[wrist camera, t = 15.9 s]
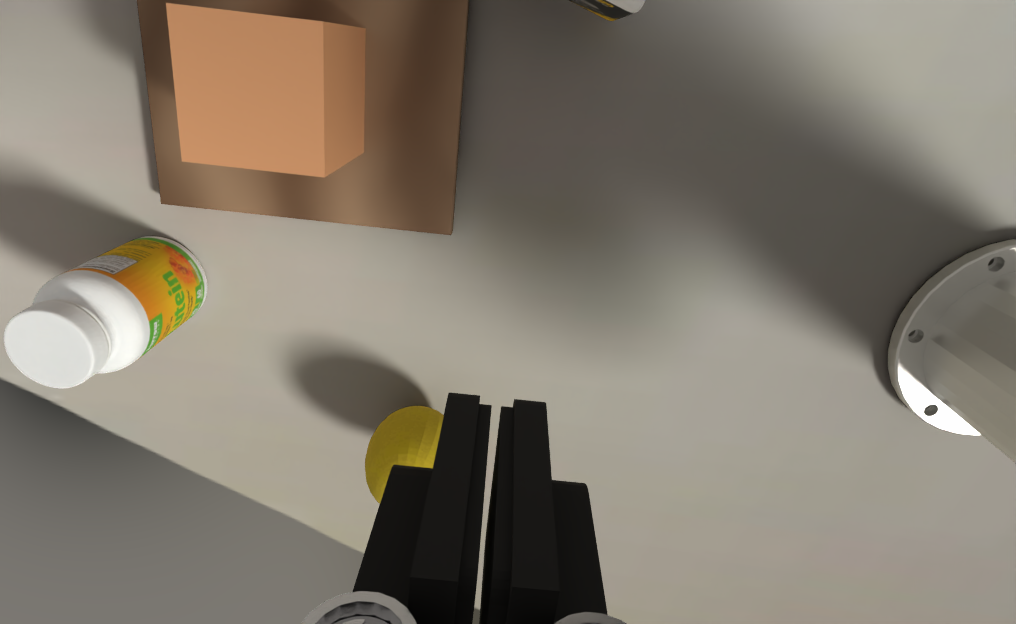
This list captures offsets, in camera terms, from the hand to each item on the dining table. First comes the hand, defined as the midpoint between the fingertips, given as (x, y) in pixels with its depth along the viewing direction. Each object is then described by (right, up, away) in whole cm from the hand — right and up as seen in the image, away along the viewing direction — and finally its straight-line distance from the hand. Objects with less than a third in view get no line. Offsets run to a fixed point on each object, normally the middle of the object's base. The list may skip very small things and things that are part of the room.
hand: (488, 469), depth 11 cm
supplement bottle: (-20, +5, +26) cm, 33 cm away
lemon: (-5, -4, +29) cm, 30 cm away
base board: (-10, +15, +21) cm, 28 cm away
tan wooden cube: (-10, +14, +20) cm, 27 cm away
